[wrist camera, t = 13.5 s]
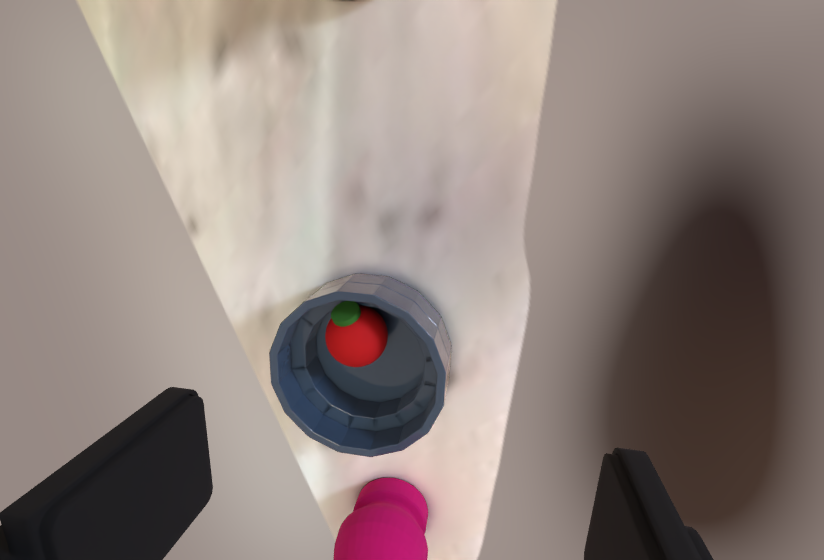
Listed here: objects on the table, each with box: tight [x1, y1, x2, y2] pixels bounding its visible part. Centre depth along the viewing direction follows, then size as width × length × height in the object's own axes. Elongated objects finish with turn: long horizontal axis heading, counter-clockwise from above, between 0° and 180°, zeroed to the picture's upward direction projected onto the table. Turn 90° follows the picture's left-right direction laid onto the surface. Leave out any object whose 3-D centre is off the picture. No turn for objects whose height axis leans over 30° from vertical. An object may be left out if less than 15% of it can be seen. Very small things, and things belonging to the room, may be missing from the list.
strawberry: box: [325, 301, 388, 367], centre depth 31 cm, size 4×4×5 cm
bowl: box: [269, 274, 451, 457], centre depth 32 cm, size 12×12×5 cm
